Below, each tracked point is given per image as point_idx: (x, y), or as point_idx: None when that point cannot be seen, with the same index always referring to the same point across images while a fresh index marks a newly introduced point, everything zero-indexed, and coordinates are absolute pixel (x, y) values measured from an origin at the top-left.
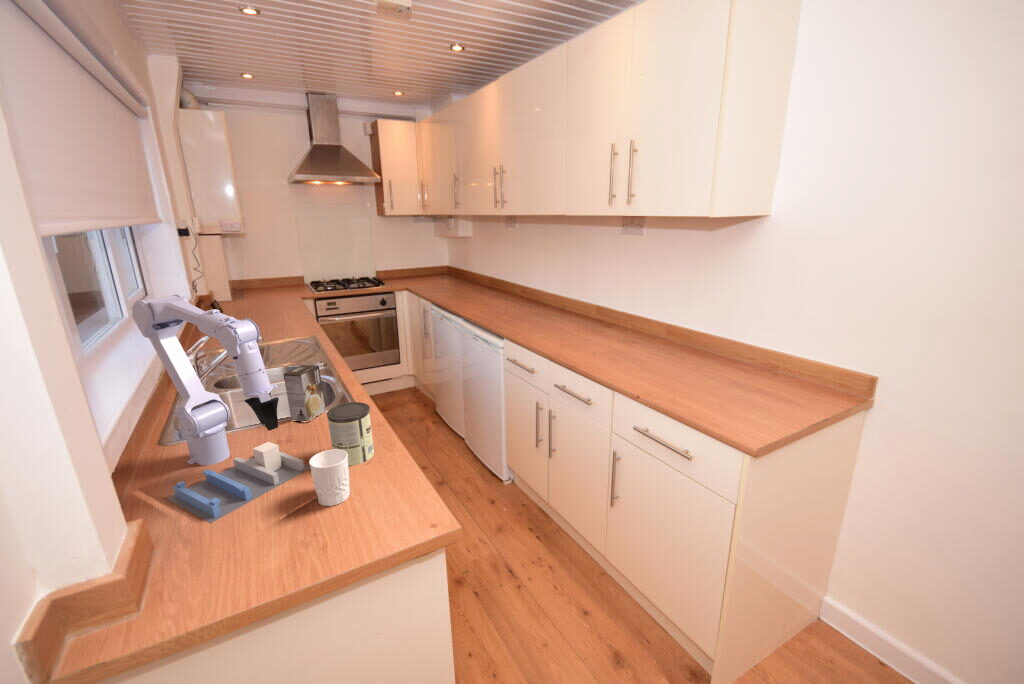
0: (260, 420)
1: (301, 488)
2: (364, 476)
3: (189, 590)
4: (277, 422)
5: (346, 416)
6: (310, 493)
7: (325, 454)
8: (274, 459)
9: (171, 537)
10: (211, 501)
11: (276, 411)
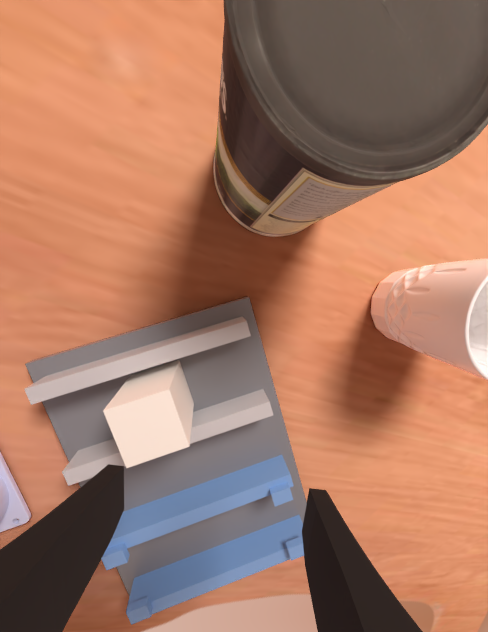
0: (106, 545)
1: (309, 348)
2: (380, 205)
3: (445, 556)
4: (340, 517)
5: (461, 86)
6: (346, 339)
7: (460, 309)
8: (182, 391)
9: (286, 579)
10: (297, 557)
11: (410, 619)
